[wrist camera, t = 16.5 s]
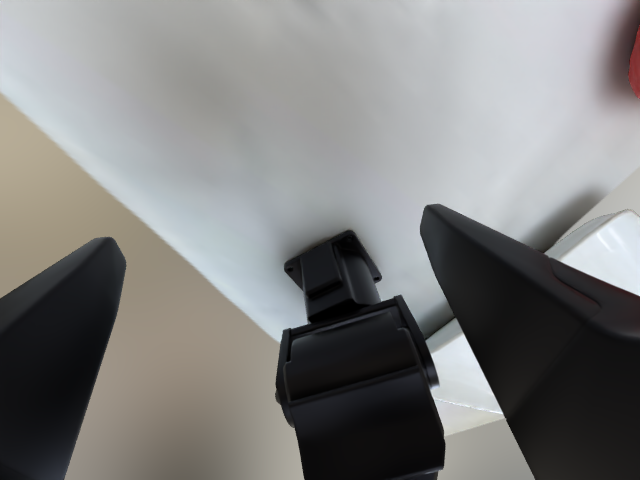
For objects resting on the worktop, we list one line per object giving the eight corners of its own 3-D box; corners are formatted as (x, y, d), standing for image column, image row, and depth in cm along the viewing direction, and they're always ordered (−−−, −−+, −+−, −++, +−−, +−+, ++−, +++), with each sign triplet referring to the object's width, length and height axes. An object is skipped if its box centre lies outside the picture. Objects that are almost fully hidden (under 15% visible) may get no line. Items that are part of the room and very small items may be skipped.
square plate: (370, 358, 38) (379, 390, 35) (593, 180, 26) (636, 207, 23) (498, 395, 50) (513, 421, 47) (690, 287, 38) (727, 313, 35)
